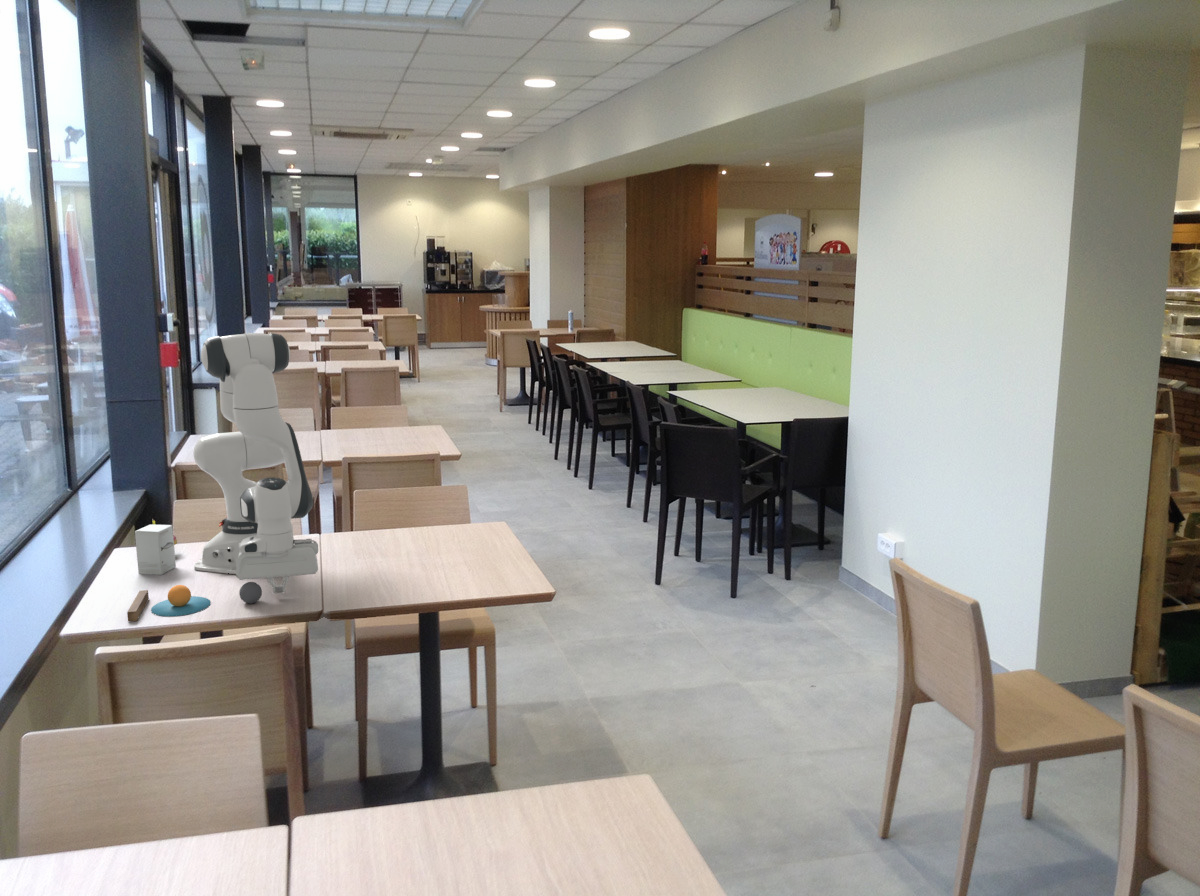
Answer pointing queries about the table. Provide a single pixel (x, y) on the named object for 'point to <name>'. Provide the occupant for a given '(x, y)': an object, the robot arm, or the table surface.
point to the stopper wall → (138, 605)
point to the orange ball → (179, 595)
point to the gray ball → (250, 592)
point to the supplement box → (155, 549)
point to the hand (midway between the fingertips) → (279, 592)
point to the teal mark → (181, 607)
